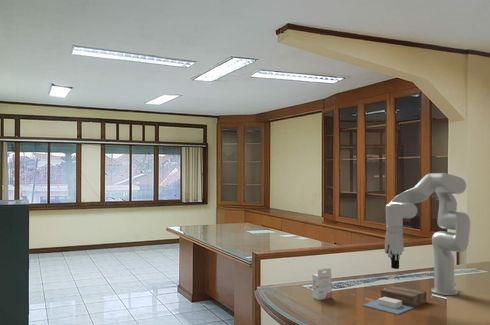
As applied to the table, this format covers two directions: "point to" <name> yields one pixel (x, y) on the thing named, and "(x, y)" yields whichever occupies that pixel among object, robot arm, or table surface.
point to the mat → (388, 308)
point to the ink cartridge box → (322, 284)
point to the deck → (405, 295)
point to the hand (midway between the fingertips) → (395, 268)
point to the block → (390, 302)
